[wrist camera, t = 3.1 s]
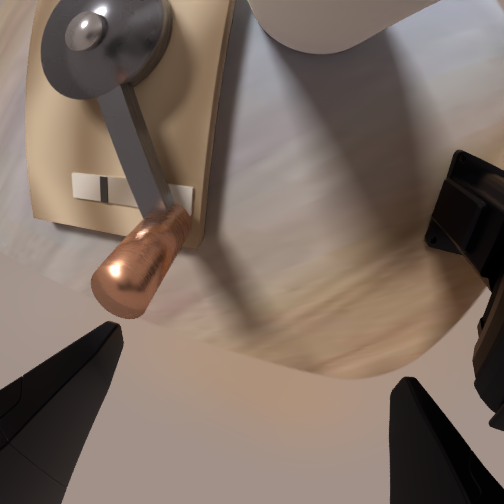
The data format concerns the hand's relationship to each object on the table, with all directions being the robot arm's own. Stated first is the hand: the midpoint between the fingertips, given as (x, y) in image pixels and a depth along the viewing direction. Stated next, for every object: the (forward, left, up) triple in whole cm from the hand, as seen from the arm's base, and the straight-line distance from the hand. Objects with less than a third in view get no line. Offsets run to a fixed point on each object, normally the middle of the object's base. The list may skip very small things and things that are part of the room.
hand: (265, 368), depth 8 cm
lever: (+8, -6, -9) cm, 14 cm away
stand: (+11, -6, -11) cm, 16 cm away
